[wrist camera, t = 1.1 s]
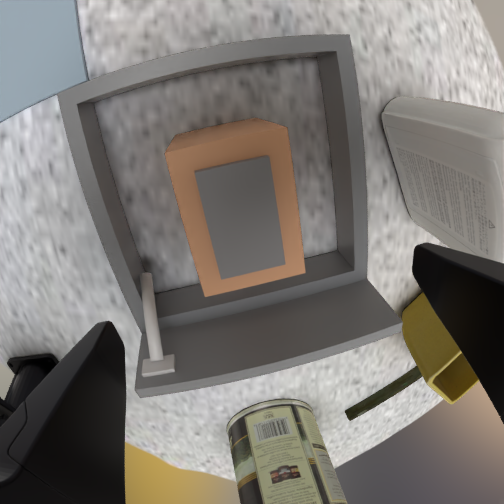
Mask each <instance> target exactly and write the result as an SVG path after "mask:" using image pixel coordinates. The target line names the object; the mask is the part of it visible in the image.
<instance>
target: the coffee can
mask: <svg viewBox="0 0 504 504" xmlns="http://www.w3.org/2000/svg"><path fill="white" fill-rule="evenodd" d="M227 433H228V436H229V442H230V448H231V454H232V459H233V465H234V470H235V476H236V481H237V486H238V492H239V497H240V503H241V504H347V502H346V499H345V497H344V494H343V491H342V489H341V486H340V483H339V481H338V478H337V476H336V473H335V470H334V468H333V465H332V462H331V460H330V457H329V454H328V452H327V449H326V447H325V444H324V441H323V439H322V436H321V434H320V431H319V428H318V426H317V423H316V420H315V418H314V415H313V410H312V409H311V407H310V406H309V405H308V404H306V403H303V402H301V401H298V400H290V399H279V400H273V401H267V402H263V403H260V404H256V405H254V406H251V407H249V408H247V409H244V410H243V411H241V412H240V413H238V414H237V415H236V416H234V417H233V418H232V419H231V421H230V422H229V424H228V426H227Z"/></svg>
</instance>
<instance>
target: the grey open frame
mask: <svg viewBox="0 0 504 504" xmlns="http://www.w3.org/2000/svg"><path fill="white" fill-rule="evenodd" d="M316 56H317V59H318V65H319V71H320V78H321V84H322V91H323V98H324V105H325V112H326V120H327V128H328V136H329V145H330V154H331V164H332V175H333V186H334V198H335V212H336V228H337V247H338V251H334V252H330V253H326V254H322V255H318V256H314V257H310V258H306V259H304V263H305V273H303V274H299V275H295V276H291V277H287V278H283V279H279V280H275V281H271V282H267V283H263V284H259V285H255V286H251V287H246V288H242V289H238V290H234V291H229V292H225V293H221V294H217V295H212V296H208V297H205V296H204V292H203V289H202V286H201V284H197V285H193V286H188V287H184V288H180V289H175V290H171V291H166V292H162V293H157V294H154V289H153V281H152V274H151V273H147V272H146V273H145V270H144V268H143V265H142V263H141V260H140V257H139V254H138V252H137V249H136V246H135V243H134V241H133V238H132V235H131V232H130V229H129V226H128V223H127V220H126V217H125V214H124V211H123V208H122V205H121V202H120V199H119V196H118V192H117V189H116V186H115V183H114V179H113V176H112V173H111V169H110V166H109V162H108V159H107V155H106V151H105V148H104V144H103V140H102V136H101V132H100V128H99V124H98V120H97V116H96V112H95V107H94V102H97V101H100V100H102V99H105V98H108V97H111V96H114V95H117V94H120V93H123V92H126V91H129V90H133V89H136V88H139V87H143V86H146V85H150V84H153V83H157V82H161V81H164V80H168V79H172V78H176V77H180V76H185V75H189V74H194V73H198V72H203V71H208V70H213V69H218V68H224V67H229V66H235V65H241V64H248V63H255V62H262V61H271V60H279V59H290V58H301V57H316ZM57 96H58V101H59V105H60V110H61V114H62V118H63V122H64V126H65V130H66V134H67V138H68V142H69V146H70V149H71V153H72V156H73V160H74V163H75V167H76V170H77V173H78V177H79V180H80V183H81V186H82V189H83V192H84V195H85V198H86V201H87V204H88V207H89V210H90V213H91V216H92V218H93V221H94V224H95V227H96V229H97V232H98V235H99V237H100V240H101V243H102V245H103V248H104V250H105V253H106V255H107V258H108V260H109V263H110V265H111V267H112V270H113V272H114V274H115V277H116V279H117V281H118V284H119V286H120V288H121V291H122V293H123V295H124V297H125V299H126V302H127V304H128V306H129V308H130V310H131V312H132V314H133V316H134V319H135V321H136V323H137V325H138V327H139V329H140V331H141V333H142V336H141V343H140V350H139V357H138V365H137V373H136V382H135V391H136V393H137V394H138V396H139V397H140V398H144V397H151V396H158V395H165V394H171V393H177V392H183V391H189V390H195V389H200V388H205V387H211V386H216V385H220V384H225V383H230V382H235V381H239V380H244V379H248V378H252V377H256V376H261V375H265V374H269V373H273V372H277V371H280V370H284V369H288V368H292V367H295V366H299V365H303V364H306V363H310V362H313V361H316V360H320V359H323V358H326V357H330V356H333V355H336V354H339V353H342V352H345V351H348V350H351V349H354V348H357V347H360V346H363V345H366V344H369V343H372V342H375V341H378V340H380V339H383V338H386V337H389V336H391V335H394V334H397V333H399V332H401V330H402V324H403V322H402V320H401V319H400V318H399V317H398V315H397V314H396V313H395V312H394V311H393V309H392V308H391V307H390V306H389V304H388V303H387V302H386V301H385V300H384V298H383V297H382V296H381V295H380V294H379V292H378V291H377V290H376V289H375V288H374V286H373V285H372V284H371V283H370V282H369V281H368V279H367V261H368V218H367V186H366V167H365V152H364V139H363V128H362V118H361V108H360V100H359V92H358V84H357V77H356V70H355V63H354V57H353V51H352V45H351V40H350V35H302V36H287V37H275V38H265V39H256V40H248V41H241V42H234V43H228V44H222V45H216V46H210V47H205V48H200V49H195V50H191V51H186V52H182V53H177V54H173V55H169V56H165V57H161V58H157V59H154V60H150V61H147V62H143V63H140V64H136V65H133V66H130V67H127V68H123V69H120V70H117V71H114V72H111V73H109V74H106V75H103V76H100V77H97V78H95V79H92V80H89V81H87V82H84V83H82V84H79V85H77V86H74V87H72V88H69V89H67V90H65V91H62V92H60V93H58V94H57Z"/></svg>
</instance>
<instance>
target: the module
mask: <svg viewBox="0 0 504 504" xmlns="http://www.w3.org/2000/svg"><path fill="white" fill-rule="evenodd" d="M165 157H166V161H167V165H168V169H169V173H170V177H171V181H172V185H173V189H174V192H175V196H176V200H177V203H178V207H179V211H180V214H181V218H182V222H183V225H184V229H185V232H186V236H187V239H188V243H189V246H190V250H191V253H192V256H193V260H194V263H195V266H196V270H197V273H198V276H199V280H200V283H201V286H202V289H203V292H204V296H205V297H208V296H212V295H217V294H221V293H225V292H229V291H234V290H238V289H242V288H246V287H251V286H255V285H259V284H263V283H267V282H271V281H275V280H279V279H283V278H287V277H291V276H295V275H299V274H303V273H305V263H304V253H303V244H302V235H301V226H300V217H299V209H298V201H297V193H296V185H295V178H294V170H293V163H292V156H291V149H290V142H289V136H288V129H287V127H284V126H281V125H278V124H275V123H272V122H269V121H266V120H262V119H259V118H251V119H246V120H241V121H235V122H230V123H225V124H221V125H216V126H211V127H207V128H202V129H198V130H194V131H189V132H185V133H181V134H177V135H175V136H174V138H173V140H172V141H171V143H170V145H169V146H168V148H167V150H166V152H165Z"/></svg>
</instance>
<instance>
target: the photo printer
mask: <svg viewBox="0 0 504 504" xmlns="http://www.w3.org/2000/svg"><path fill="white" fill-rule="evenodd" d="M382 122H383V127H384V131H385V134H386V138H387V141H388V144H389V148H390V151H391V154H392V157H393V161H394V164H395V167H396V171H397V174H398V178H399V181H400V185H401V188H402V192H403V196H404V199H405V202H406V205H407V209H408V211H409V214H410V216H411V218H412V219H413V221H414V222H415V223H416V224H418V225H419V226H421V227H422V228H423V229H425V230H426V231H427V232H429V233H430V234H432V235H433V236H435V237H436V238H437V239H439V240H440V241H441V242H443V243H444V244H445V245H447V246H448V247H449V248H451V249H454V250H458V251H461V252H465V253H469V254H472V255H476V256H479V257H483V258H487V259H490V260H494V261H497V262H500V263H504V113H503V112H499V111H494V110H490V109H486V108H481V107H476V106H471V105H467V104H461V103H455V102H450V101H444V100H437V99H430V98H421V97H419V98H414V97H405V96H401V97H397V98H394V99H393V100H391V101H390V102H389V103H388V104H387V106H386V107H385V109H384V112H383V113H382Z"/></svg>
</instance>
